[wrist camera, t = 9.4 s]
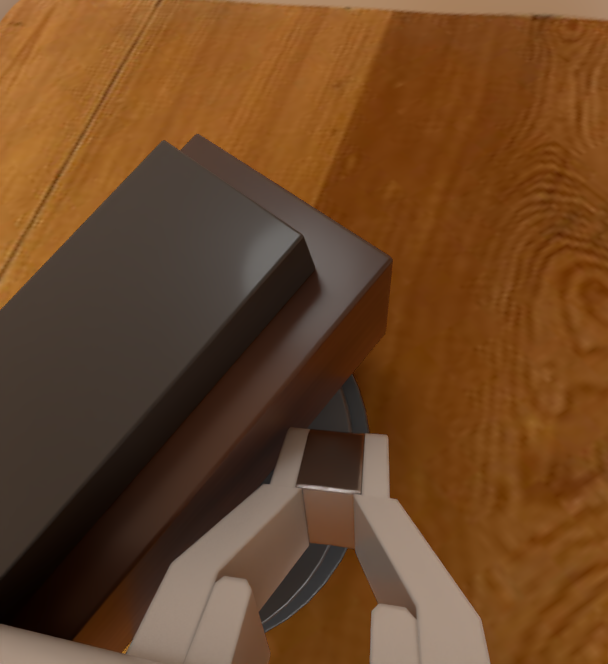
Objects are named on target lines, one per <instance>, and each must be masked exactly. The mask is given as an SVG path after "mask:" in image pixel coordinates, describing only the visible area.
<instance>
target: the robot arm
mask: <svg viewBox="0 0 608 664" xmlns="http://www.w3.org/2000/svg"><path fill="white" fill-rule="evenodd" d="M309 543H316V544H325V545H333V546H338V547H344V548H350V549H355V552H356V555H357V557H358V559H359V561H360V564H361V566H362V568H363V571H364V573H365V575H366V577H367V580H368V582H369V584H370V586H371V589H372V591H373V593H374V595H375V598H376V600H377V602H378V605H377V606H376V607H375V608H374V609H373V610H372V612H371V642H370V664H490V659H489V654H488V649H487V645H486V640H485V635H484V630H483V625H482V621H481V618H480V617H479V615H478V614H477V612H476V611H475V610H474V608H473V607H472V605H471V604H470V602H469V601H468V600H467V598H466V597H465V595H464V594H463V592H462V591H461V590H460V588H459V587H458V585H457V584H456V582H455V581H454V580H453V578H452V577H451V575H450V574H449V572H448V571H447V570H446V568H445V567H444V565H443V564H442V562H441V561H440V560H439V558H438V557H437V555H436V554H435V552H434V551H433V550H432V548H431V547H430V545H429V544H428V542H427V541H426V540H425V538H424V537H423V535H422V534H421V532H420V531H419V530H418V528H417V527H416V525H415V524H414V522H413V521H412V520H411V518H410V517H409V515H408V514H407V512H406V511H405V510H404V508H403V507H402V505H401V504H400V503H399V501H398V500H397V499H393V498H390V484H389V445H388V436H387V435H384V434H369V433H353V432H339V431H327V430H317V429H303V428H294V427H290V428H289V429H288V431H287V432H286V435H285V438H284V441H283V445H282V448H281V451H280V454H279V457H278V460H277V463H276V466H275V469H274V472H273V475H272V478H271V482H270V484H262V485H261V486H260V487H259V488H258V489H257V490H255V491H254V492H253V493H252V494H251V495H250V496H248V497H247V498H246V499H245V500H244V501H243V502H242V503H240V504H239V505H238V506H237V507H236V508H235V509H233V510H232V511H231V512H230V513H229V514H228V515H226V516H225V517H224V518H223V519H222V520H221V521H219V522H218V523H217V524H216V525H215V526H214V527H212V528H211V529H210V530H209V531H208V532H207V533H205V534H204V535H203V536H202V537H201V538H200V539H199V540H197V541H196V542H195V543H194V544H193V545H192V546H190V547H189V548H188V549H187V550H186V551H185V552H183V553H182V554H181V555H180V556H179V557H178V558H176V559H175V560H174V561H173V562H172V563H171V564H170V566H169V568H168V570H167V572H166V574H165V576H164V578H163V580H162V582H161V584H160V586H159V588H158V590H157V592H156V594H155V596H154V598H153V600H152V602H151V604H150V606H149V608H148V610H147V612H146V614H145V616H144V618H143V620H142V622H141V624H140V626H139V628H138V630H137V632H136V634H135V636H134V638H133V640H132V642H131V644H130V646H129V648H128V650H127V652H126V654H123V653H119V652H115V651H111V650H106V649H102V648H98V647H94V646H90V645H86V644H82V643H78V642H74V641H70V640H65V639H61V638H57V637H53V636H49V635H45V634H41V633H37V632H33V631H29V630H24V629H20V628H16V627H12V626H8V625H4V624H0V664H268V663H269V658H270V650H269V646H268V643H267V639H266V636H265V632H264V629H263V626H262V622H261V619H260V615H259V611H260V610H261V608H262V607H263V606H264V604H265V603H266V602H267V600H268V599H269V598H270V596H271V595H272V594H273V593H274V591H275V590H276V589H277V587H278V586H279V585H280V583H281V582H282V581H283V579H284V578H285V577H286V575H287V574H288V573H289V571H290V570H291V569H292V567H293V566H294V565H295V563H296V562H297V561H298V560H299V558H300V557H301V556H302V554H303V553H304V552H305V550H306V549H307V548H308V546H309Z"/></svg>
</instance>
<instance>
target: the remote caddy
mask: <svg viewBox="0 0 608 664" xmlns="http://www.w3.org/2000/svg"><path fill="white" fill-rule="evenodd" d="M392 263H393V259H392V258H391V257H390V256H389V255H387V254H386V253H384V252H382V251H381V250H379V249H378V248H376V247H375V246H373V245H371V244H370V243H368V242H367V241H365V240H364V239H362V238H361V237H359V236H357V235H356V234H354V233H353V232H351V231H350V230H348V229H346V228H345V227H343V226H342V225H340V224H339V223H337V222H335V221H334V220H332V219H331V218H329V217H328V216H326V215H325V214H323V213H321V212H320V211H318V210H317V209H315V208H314V207H312V206H310V205H309V204H307V203H306V202H304V201H303V200H301V199H299V198H298V197H296V196H295V195H293V194H292V193H290V192H289V191H287V190H285V189H284V188H282V187H281V186H279V185H278V184H276V183H274V182H273V181H271V180H270V179H268V178H267V177H265V176H263V175H262V174H260V173H259V172H257V171H256V170H254V169H252V168H251V167H249V166H248V165H246V164H245V163H243V162H242V161H240V160H238V159H237V158H235V157H234V156H232V155H231V154H229V153H227V152H226V151H224V150H223V149H221V148H220V147H218V146H216V145H215V144H213V143H212V142H210V141H209V140H207V139H206V138H204V137H202V136H201V135H199V134H196V135H194V137H193V138H192V139H191V140H190V141H189V142H188V143H187V144H186V145H185V146H184V147H183V148H182V149H181V150H178V149H177V148H175V147H174V146H172V145H171V144H169V143H168V142H167V141H165V140H163V141H161V143H160V144H159V145H158V146H157V147H156V148H155V149H154V150H153V151H152V152H151V153H150V154H149V155H148V156H147V157H146V158H145V159H144V160H143V161H142V162H141V163H140V164H139V166H138V167H137V168H136V169H135V170H134V171H133V172H132V173H131V174H130V175H129V176H128V177H127V178H126V179H125V180H124V181H123V182H122V183H121V184H120V185H119V186H118V187H117V189H116V190H115V191H114V192H113V193H112V194H111V195H110V196H109V197H108V198H107V199H106V200H105V201H104V202H103V203H102V204H101V205H100V206H99V207H98V208H97V209H96V211H95V212H94V213H93V214H92V215H91V216H90V217H89V218H88V219H87V220H86V221H85V222H84V223H83V224H82V225H81V226H80V227H79V228H78V229H77V230H76V231H75V232H74V234H73V235H72V236H71V237H70V238H69V239H68V240H67V241H66V242H65V243H64V244H63V245H62V246H61V247H60V248H59V249H58V250H57V251H56V252H55V253H54V254H53V256H52V257H51V258H50V259H49V260H48V261H47V262H46V263H45V264H44V265H43V266H42V267H41V268H40V269H39V270H38V271H37V272H36V273H35V274H34V275H33V276H32V277H31V279H30V280H29V281H28V282H27V283H26V284H25V285H24V286H23V287H22V288H21V289H20V290H19V291H18V292H17V293H16V294H15V295H14V296H13V297H12V298H11V299H10V301H9V302H8V303H7V304H6V305H5V306H4V307H3V308H2V309H1V310H0V624H4V625H8V626H12V627H16V628H20V629H24V630H29V631H33V632H37V633H41V634H45V635H49V636H53V637H57V638H61V639H65V640H70V641H74V642H78V643H82V644H86V645H90V646H94V647H98V648H102V649H106V650H111V651H115V652H119V653H122V651H123V650H124V649H125V648H126V647H127V645H128V644H129V643H130V642H131V640H133V638H134V636H135V634H136V632H137V630H138V628H139V626H140V624H141V622H142V620H143V618H144V616H145V614H146V612H147V610H148V608H149V606H150V604H151V602H152V600H153V598H154V596H155V594H156V592H157V590H158V588H159V586H160V584H161V582H162V580H163V578H164V576H165V574H166V572H167V570H168V568H169V566H170V564H171V563H172V562H173V561H174V560H175V559H176V558H178V557H179V556H180V555H181V554H182V553H183V552H185V551H186V550H187V549H188V548H189V547H190V546H192V545H193V544H194V543H195V542H196V541H197V540H199V539H200V538H201V537H202V536H203V535H204V534H205V533H207V532H208V531H209V530H210V529H211V528H212V527H214V526H215V525H216V524H217V523H218V522H219V521H221V520H222V519H223V518H224V517H225V516H226V515H228V514H229V513H230V512H231V511H232V510H233V509H235V508H236V507H237V506H238V505H239V504H240V503H242V502H243V501H244V500H245V499H246V498H247V497H248V496H250V495H251V494H252V493H253V492H254V491H255V490H257V489H258V488H259V487H260V486H261V485H262V484H270V482H271V478H272V475H273V472H274V469H275V466H276V463H277V460H278V457H279V454H280V451H281V448H282V445H283V441H284V438H285V435H286V432H287V431H288V429H289V428H290V427H294V428H303V429H317V430H327V431H339V432H353V430H352V424H351V417H350V411H349V408H348V404H347V401H346V398H345V394H344V391H343V388H342V385H343V384H344V383H345V382H346V380H347V379H348V378H349V377H350V376H351V374H352V373H353V372H354V371H355V370H356V368H357V367H358V366H359V365H360V364H361V362H362V361H363V360H364V359H365V358H366V356H367V355H368V354H369V353H370V351H371V350H372V349H373V348H374V347H375V345H376V344H377V343H378V342H379V341H380V339H381V338H382V337H383V336H384V335H385V332H386V324H387V313H388V303H389V293H390V283H391V273H392ZM330 546H331V545H325V544H316V543H309V546H308V548H307V549H306V550H305V552H304V553H303V554H302V556H301V557H300V558H299V560H298V561H297V562H296V563H295V565H294V566H293V567H292V569H291V570H290V571H289V573H288V574H287V575H286V577H285V578H284V579H283V581H282V582H281V583H280V585H279V586H278V587H277V589H276V590H275V591H274V593H273V594H272V595H271V596H270V598H269V599H268V600H267V602H266V603H265V604H264V606H263V607H262V608H261V610H260V611H259V615H260V619H261V622H262V624H264V623H265V622H267V621H269V620H270V619H271V618H272V617H274V616H275V615H276V614H277V613H278V612H280V611H281V610H282V609H283V608H285V607H286V606H287V605H288V604H289V603H290V602H291V601H292V600H293V599H294V598H295V597H296V596H297V595H298V593H299V592H300V591H301V590H302V589H303V588H304V587H305V586H306V585H307V584H308V582H309V581H310V579H311V578H312V576H313V575H314V573H315V572H316V570H317V569H318V567H319V566H320V565H321V563H322V562H323V560H324V558H325V556H326V554H327V552H328V550H329V548H330Z"/></svg>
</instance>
